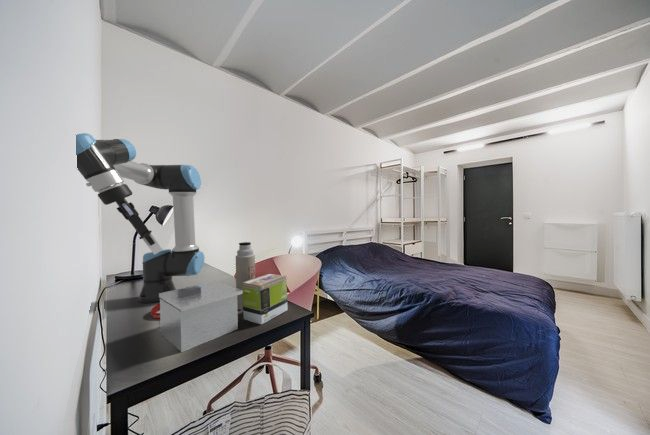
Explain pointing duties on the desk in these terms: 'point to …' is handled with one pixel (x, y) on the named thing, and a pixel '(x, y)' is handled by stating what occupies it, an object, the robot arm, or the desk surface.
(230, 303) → the open-top storage bin
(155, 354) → the desk surface
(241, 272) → the thermos bottle
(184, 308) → the lid
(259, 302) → the tea box
